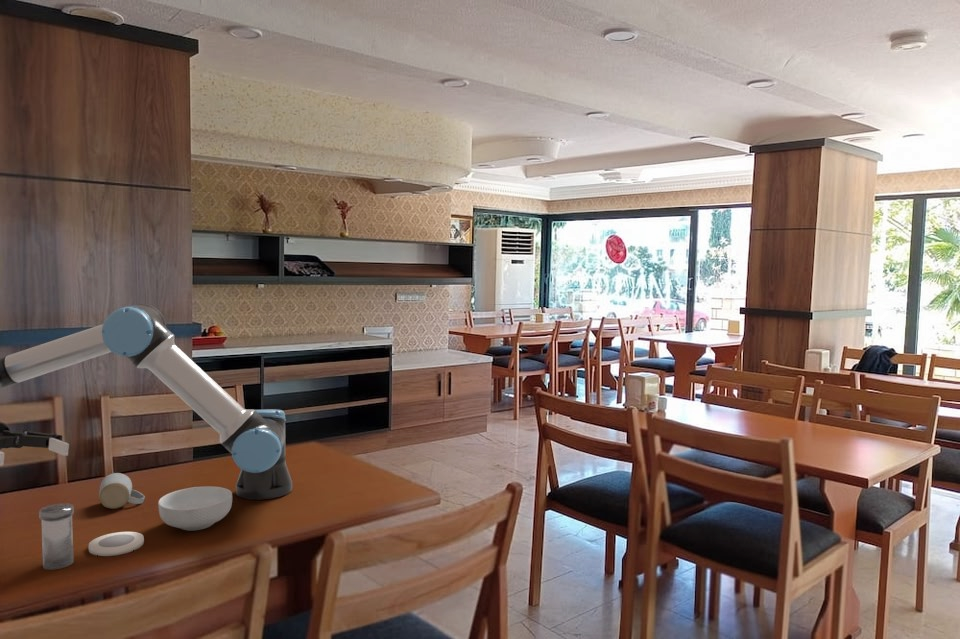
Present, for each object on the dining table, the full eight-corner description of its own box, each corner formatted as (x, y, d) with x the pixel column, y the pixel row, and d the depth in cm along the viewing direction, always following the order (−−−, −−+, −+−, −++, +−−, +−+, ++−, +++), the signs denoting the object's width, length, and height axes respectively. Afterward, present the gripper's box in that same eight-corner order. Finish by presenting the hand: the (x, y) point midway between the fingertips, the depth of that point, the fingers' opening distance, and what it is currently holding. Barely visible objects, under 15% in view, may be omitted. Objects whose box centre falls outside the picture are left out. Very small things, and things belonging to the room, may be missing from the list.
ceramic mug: (98, 512, 180) (98, 482, 180) (100, 502, 187) (100, 473, 187) (144, 507, 185) (144, 478, 184) (144, 497, 192) (144, 470, 191)
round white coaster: (152, 537, 164) (152, 531, 164) (128, 556, 153) (127, 550, 153) (106, 536, 164) (106, 530, 164) (78, 555, 153) (77, 549, 153)
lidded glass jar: (81, 558, 152) (79, 503, 151) (63, 570, 146) (61, 513, 145) (53, 557, 152) (51, 503, 151) (34, 570, 146) (32, 513, 145)
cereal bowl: (182, 511, 182) (181, 484, 181) (244, 514, 180) (243, 487, 179) (144, 536, 165) (143, 506, 164) (212, 540, 163) (211, 510, 163)
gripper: (38, 442, 176) (89, 462, 165) (-80, 458, 154) (-30, 482, 144) (41, 412, 175) (92, 430, 165) (-77, 424, 154) (-27, 445, 143)
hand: (35, 454), depth 154 cm, fingers open, 13 cm apart
